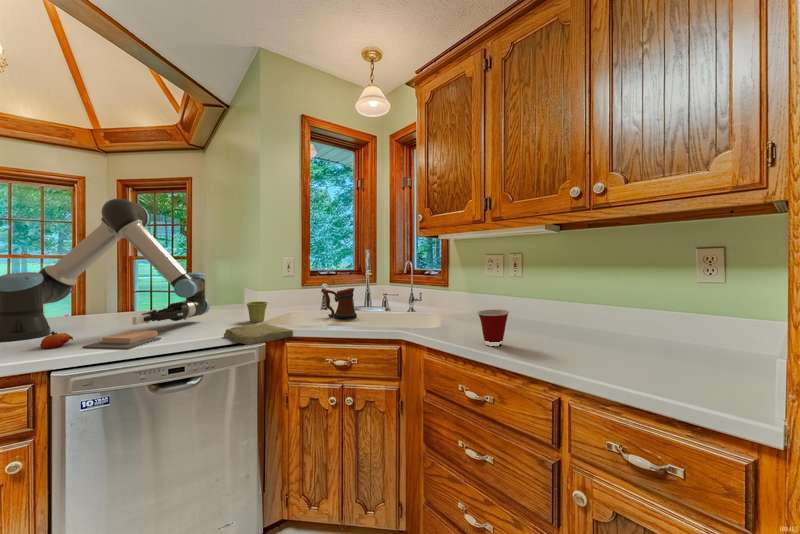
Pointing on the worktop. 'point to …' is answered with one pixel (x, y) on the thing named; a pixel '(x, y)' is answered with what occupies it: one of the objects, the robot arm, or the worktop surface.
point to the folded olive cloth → (257, 333)
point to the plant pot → (256, 311)
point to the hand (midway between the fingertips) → (134, 320)
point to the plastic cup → (493, 324)
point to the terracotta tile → (129, 337)
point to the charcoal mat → (119, 346)
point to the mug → (341, 303)
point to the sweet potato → (55, 340)
